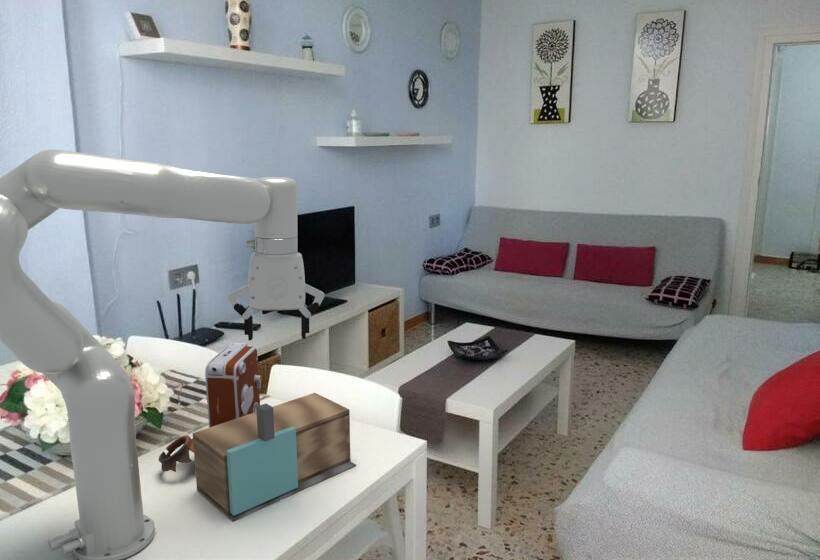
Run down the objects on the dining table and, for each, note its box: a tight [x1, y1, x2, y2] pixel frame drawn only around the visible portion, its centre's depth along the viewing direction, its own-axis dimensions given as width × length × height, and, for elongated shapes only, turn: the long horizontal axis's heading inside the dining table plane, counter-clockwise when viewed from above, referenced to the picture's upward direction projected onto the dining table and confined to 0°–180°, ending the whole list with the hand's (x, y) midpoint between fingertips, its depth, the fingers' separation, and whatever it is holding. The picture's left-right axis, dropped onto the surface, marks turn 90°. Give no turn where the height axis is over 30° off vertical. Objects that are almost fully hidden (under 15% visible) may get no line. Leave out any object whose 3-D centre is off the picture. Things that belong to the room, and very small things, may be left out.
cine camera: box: [204, 342, 262, 428], centre depth 144 cm, size 9×19×20 cm, turn 174°
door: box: [226, 403, 298, 516], centre depth 115 cm, size 14×2×18 cm, turn 134°
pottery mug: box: [158, 434, 194, 473], centre depth 130 cm, size 12×10×8 cm
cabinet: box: [192, 392, 357, 522], centre depth 125 cm, size 28×14×12 cm, turn 134°
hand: (277, 337), depth 118 cm, fingers open, 9 cm apart
